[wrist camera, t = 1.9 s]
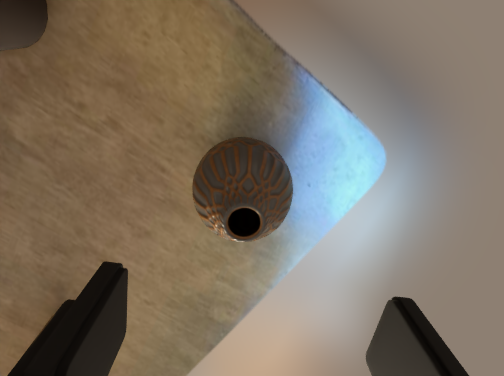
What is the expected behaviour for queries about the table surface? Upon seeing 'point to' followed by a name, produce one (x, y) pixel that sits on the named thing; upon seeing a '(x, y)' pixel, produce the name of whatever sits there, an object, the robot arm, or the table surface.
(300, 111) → the table surface
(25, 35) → the coffee cup
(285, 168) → the vase
